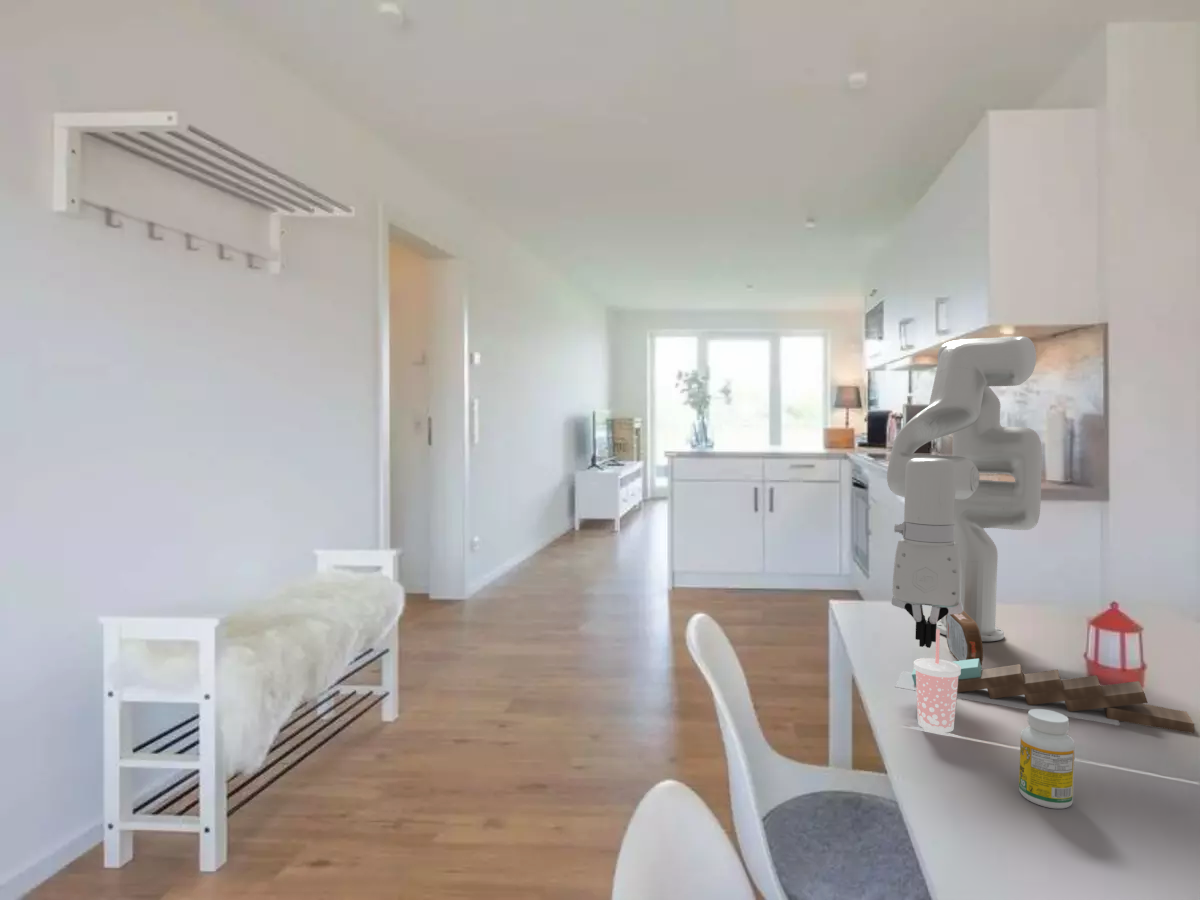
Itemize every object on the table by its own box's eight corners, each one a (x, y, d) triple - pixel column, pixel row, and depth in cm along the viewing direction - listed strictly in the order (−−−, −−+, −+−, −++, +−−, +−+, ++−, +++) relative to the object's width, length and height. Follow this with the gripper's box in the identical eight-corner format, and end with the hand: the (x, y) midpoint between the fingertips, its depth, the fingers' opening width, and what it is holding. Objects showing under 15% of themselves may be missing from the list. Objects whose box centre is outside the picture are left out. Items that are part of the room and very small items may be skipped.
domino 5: (1064, 700, 111) (1143, 691, 106) (1063, 690, 115) (1139, 681, 111) (1068, 711, 111) (1147, 702, 106) (1066, 700, 115) (1142, 691, 110)
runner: (894, 688, 121) (894, 686, 121) (902, 672, 129) (902, 670, 129) (1119, 727, 106) (1119, 725, 106) (1112, 706, 114) (1112, 704, 114)
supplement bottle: (1068, 815, 82) (1071, 728, 81) (1013, 799, 85) (1016, 716, 85) (1076, 796, 86) (1079, 714, 86) (1023, 782, 89) (1026, 702, 89)
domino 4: (1024, 694, 114) (1099, 685, 109) (1024, 684, 118) (1096, 675, 113) (1027, 705, 113) (1103, 696, 109) (1027, 694, 118) (1100, 685, 113)
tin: (984, 675, 128) (985, 626, 127) (964, 674, 128) (965, 625, 128) (960, 649, 143) (961, 605, 142) (942, 648, 143) (943, 604, 143)
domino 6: (1107, 707, 108) (1194, 723, 104) (1103, 696, 113) (1186, 711, 108) (1106, 718, 108) (1193, 735, 104) (1102, 706, 113) (1185, 722, 108)
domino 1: (911, 674, 122) (977, 666, 117) (915, 666, 126) (978, 658, 122) (914, 684, 122) (980, 677, 117) (917, 675, 126) (981, 668, 122)
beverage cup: (939, 740, 101) (941, 637, 101) (902, 723, 107) (904, 626, 106) (969, 731, 104) (972, 632, 103) (932, 716, 109) (934, 621, 109)
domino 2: (951, 682, 118) (1020, 673, 114) (953, 673, 123) (1020, 664, 118) (954, 692, 118) (1024, 683, 114) (956, 683, 123) (1023, 674, 118)
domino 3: (987, 688, 116) (1059, 679, 111) (988, 679, 120) (1057, 669, 116) (990, 698, 116) (1063, 689, 111) (991, 689, 120) (1061, 679, 115)
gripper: (876, 532, 122) (873, 644, 123) (978, 540, 115) (975, 658, 116) (883, 527, 129) (881, 633, 129) (981, 534, 121) (977, 646, 122)
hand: (925, 644), depth 122 cm, fingers closed
